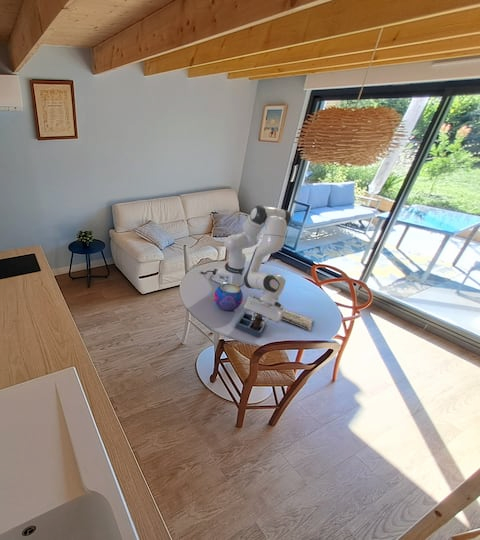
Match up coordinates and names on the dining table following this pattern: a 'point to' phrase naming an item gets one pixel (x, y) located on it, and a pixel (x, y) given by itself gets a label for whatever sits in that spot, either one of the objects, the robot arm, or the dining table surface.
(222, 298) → the ceramic pot
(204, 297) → the dining table surface
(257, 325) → the dark brown cylinder
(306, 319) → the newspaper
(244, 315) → the grid
